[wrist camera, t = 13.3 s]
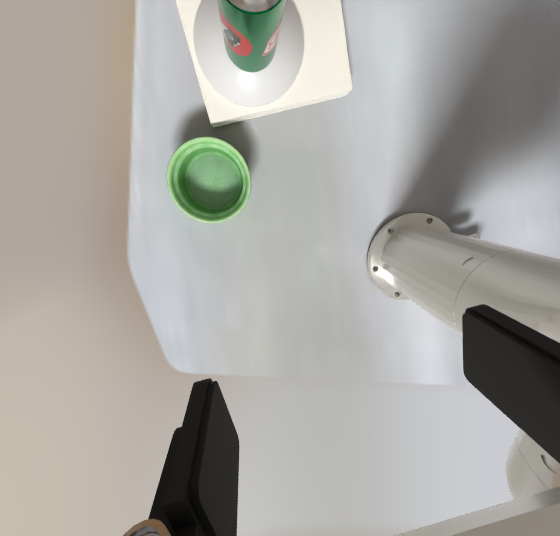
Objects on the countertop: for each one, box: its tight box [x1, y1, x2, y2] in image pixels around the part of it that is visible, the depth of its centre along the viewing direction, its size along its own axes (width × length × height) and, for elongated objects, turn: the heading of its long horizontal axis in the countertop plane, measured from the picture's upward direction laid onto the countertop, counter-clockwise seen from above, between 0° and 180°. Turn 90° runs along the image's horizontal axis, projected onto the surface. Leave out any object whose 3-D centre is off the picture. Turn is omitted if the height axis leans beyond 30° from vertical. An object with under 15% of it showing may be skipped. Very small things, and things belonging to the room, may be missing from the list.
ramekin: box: [167, 137, 251, 223], centre depth 32 cm, size 9×9×4 cm
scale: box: [176, 0, 352, 128], centre depth 29 cm, size 16×13×4 cm
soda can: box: [217, 0, 286, 72], centre depth 22 cm, size 5×5×12 cm
